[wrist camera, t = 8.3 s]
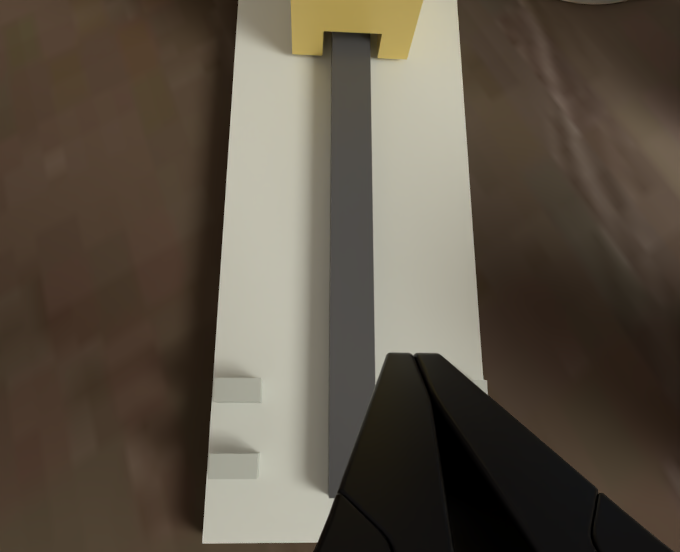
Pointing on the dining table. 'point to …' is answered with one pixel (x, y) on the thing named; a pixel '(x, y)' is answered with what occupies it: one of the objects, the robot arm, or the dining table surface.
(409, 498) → the robot arm
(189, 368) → the dining table surface
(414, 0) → the yellow sliding block
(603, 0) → the candlestick
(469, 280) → the white slide rail base
